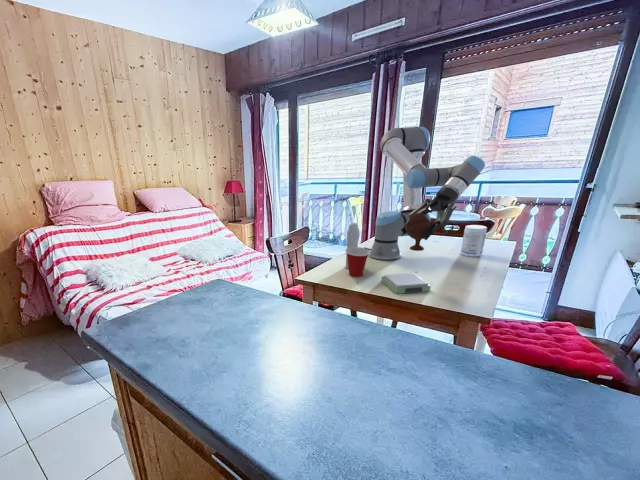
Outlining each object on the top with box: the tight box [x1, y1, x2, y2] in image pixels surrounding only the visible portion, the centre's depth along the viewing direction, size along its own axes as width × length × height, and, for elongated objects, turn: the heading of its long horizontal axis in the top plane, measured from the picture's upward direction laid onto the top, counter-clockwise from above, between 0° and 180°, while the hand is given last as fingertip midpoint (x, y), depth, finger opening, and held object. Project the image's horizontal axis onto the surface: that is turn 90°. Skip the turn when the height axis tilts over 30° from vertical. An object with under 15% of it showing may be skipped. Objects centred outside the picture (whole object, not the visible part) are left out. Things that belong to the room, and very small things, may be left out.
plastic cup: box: [344, 246, 371, 278], centre depth 150 cm, size 11×11×12 cm
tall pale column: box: [345, 222, 361, 270], centre depth 161 cm, size 11×4×22 cm, turn 134°
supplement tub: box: [460, 224, 488, 258], centre depth 168 cm, size 10×10×15 cm
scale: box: [381, 272, 431, 295], centre depth 136 cm, size 15×14×3 cm
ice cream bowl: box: [405, 213, 432, 252], centre depth 131 cm, size 11×11×15 cm
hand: (413, 234), depth 131 cm, fingers closed on ice cream bowl, 11 cm apart
